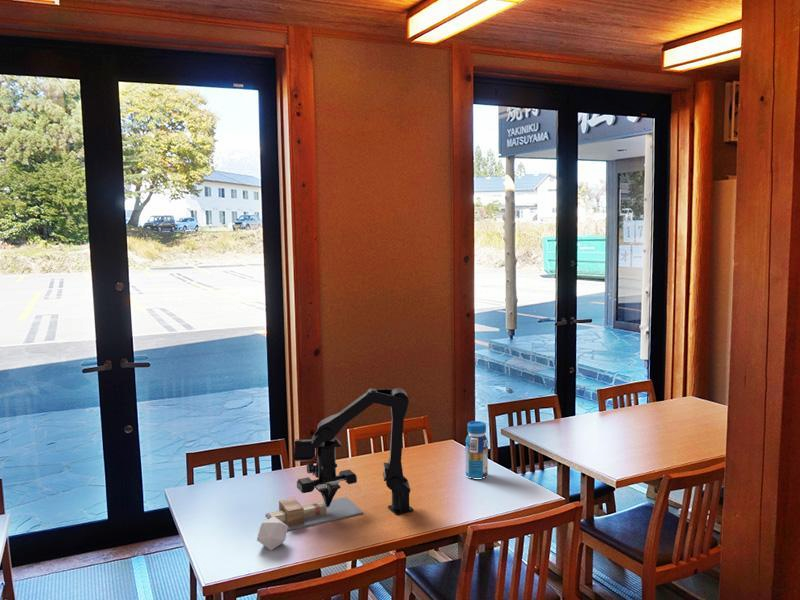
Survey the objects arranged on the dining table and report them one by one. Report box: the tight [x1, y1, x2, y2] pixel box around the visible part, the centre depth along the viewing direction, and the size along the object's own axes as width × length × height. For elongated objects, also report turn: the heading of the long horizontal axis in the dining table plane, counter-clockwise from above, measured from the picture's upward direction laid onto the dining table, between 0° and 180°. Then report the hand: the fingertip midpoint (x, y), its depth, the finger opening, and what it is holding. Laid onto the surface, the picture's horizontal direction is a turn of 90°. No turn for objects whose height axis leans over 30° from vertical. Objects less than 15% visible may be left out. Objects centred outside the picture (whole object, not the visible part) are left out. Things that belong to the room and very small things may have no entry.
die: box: [256, 516, 288, 551], centre depth 190 cm, size 8×9×10 cm
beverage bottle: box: [464, 420, 489, 478], centre depth 241 cm, size 8×8×20 cm
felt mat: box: [265, 496, 364, 532], centre depth 211 cm, size 14×28×1 cm, turn 118°
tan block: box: [278, 497, 304, 527], centre depth 206 cm, size 9×5×5 cm, turn 28°
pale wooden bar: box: [268, 501, 327, 523], centre depth 207 cm, size 3×18×3 cm, turn 118°
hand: (327, 506), depth 212 cm, fingers closed
